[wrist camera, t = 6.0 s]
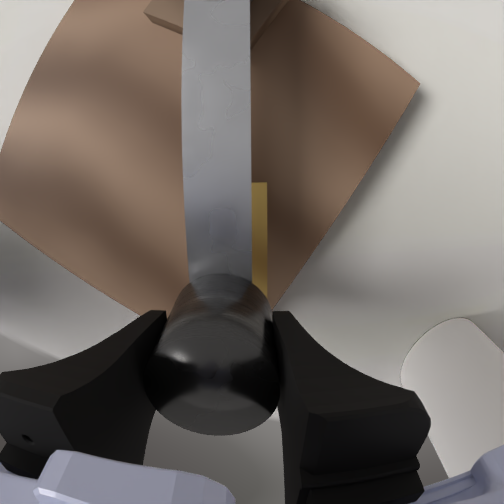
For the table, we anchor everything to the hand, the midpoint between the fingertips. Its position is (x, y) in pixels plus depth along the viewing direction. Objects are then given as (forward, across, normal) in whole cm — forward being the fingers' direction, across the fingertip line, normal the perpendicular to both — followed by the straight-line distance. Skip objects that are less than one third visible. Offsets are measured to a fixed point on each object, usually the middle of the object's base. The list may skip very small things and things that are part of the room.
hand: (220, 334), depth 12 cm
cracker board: (+6, +3, -8) cm, 10 cm away
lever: (+2, 0, -7) cm, 7 cm away
